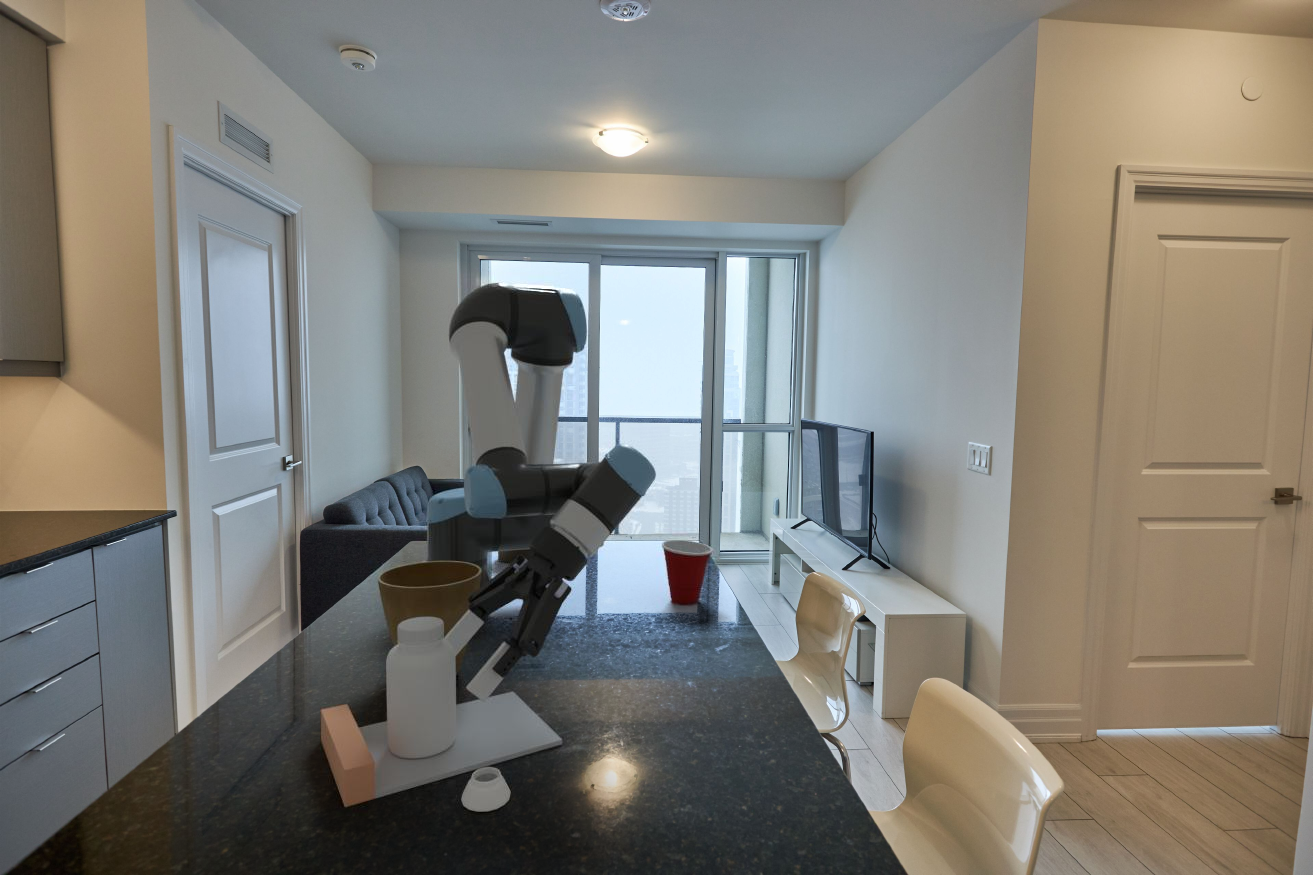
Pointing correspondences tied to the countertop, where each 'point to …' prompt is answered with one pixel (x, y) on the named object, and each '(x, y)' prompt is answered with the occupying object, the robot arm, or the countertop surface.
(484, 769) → the lidless jar
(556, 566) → the robot arm
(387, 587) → the plant pot
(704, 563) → the plastic cup
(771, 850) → the countertop surface
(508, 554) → the pillar candle
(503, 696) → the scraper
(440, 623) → the pill bottle
